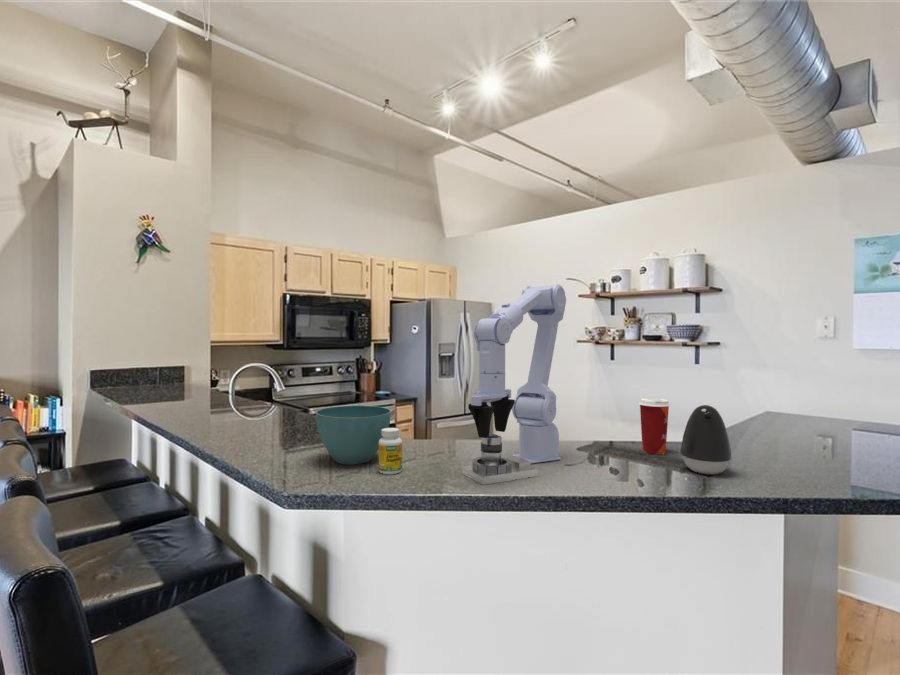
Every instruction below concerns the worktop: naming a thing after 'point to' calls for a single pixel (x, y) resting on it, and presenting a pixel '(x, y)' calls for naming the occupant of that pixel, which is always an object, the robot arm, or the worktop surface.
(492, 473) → the octagonal collar plate
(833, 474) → the worktop surface
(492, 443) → the lens
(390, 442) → the supplement bottle
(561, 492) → the worktop surface
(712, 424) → the black egg-shaped body
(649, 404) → the paper cup
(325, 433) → the teal bowl
